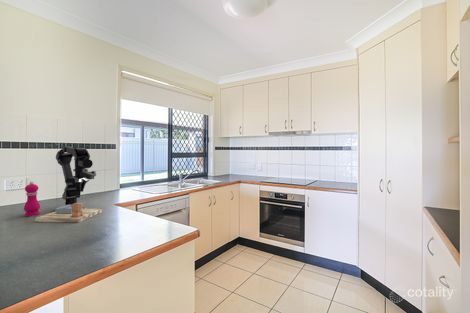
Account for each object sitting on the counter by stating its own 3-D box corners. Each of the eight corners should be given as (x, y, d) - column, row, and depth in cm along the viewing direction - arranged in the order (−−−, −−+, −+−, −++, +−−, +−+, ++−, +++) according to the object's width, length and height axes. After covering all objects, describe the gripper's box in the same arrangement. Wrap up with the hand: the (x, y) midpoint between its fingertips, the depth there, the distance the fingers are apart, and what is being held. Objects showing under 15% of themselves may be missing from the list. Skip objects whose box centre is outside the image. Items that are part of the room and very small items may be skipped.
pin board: (64, 211, 143) (64, 208, 143) (101, 212, 142) (101, 208, 142) (35, 221, 123) (35, 218, 123) (78, 222, 122) (78, 218, 122)
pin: (76, 218, 129) (76, 202, 129) (82, 218, 129) (82, 202, 129) (71, 220, 126) (71, 204, 125) (77, 220, 126) (77, 204, 125)
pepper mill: (30, 217, 131) (29, 182, 131) (20, 216, 133) (19, 182, 132) (43, 213, 138) (42, 180, 138) (33, 212, 140) (33, 180, 139)
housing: (68, 209, 140) (67, 204, 140) (82, 209, 140) (82, 204, 140) (56, 213, 131) (56, 208, 131) (71, 213, 131) (71, 208, 131)
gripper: (82, 168, 135) (82, 195, 135) (101, 166, 153) (102, 189, 154) (63, 168, 135) (64, 194, 136) (85, 166, 154) (86, 189, 154)
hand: (80, 192), depth 145 cm, fingers closed
